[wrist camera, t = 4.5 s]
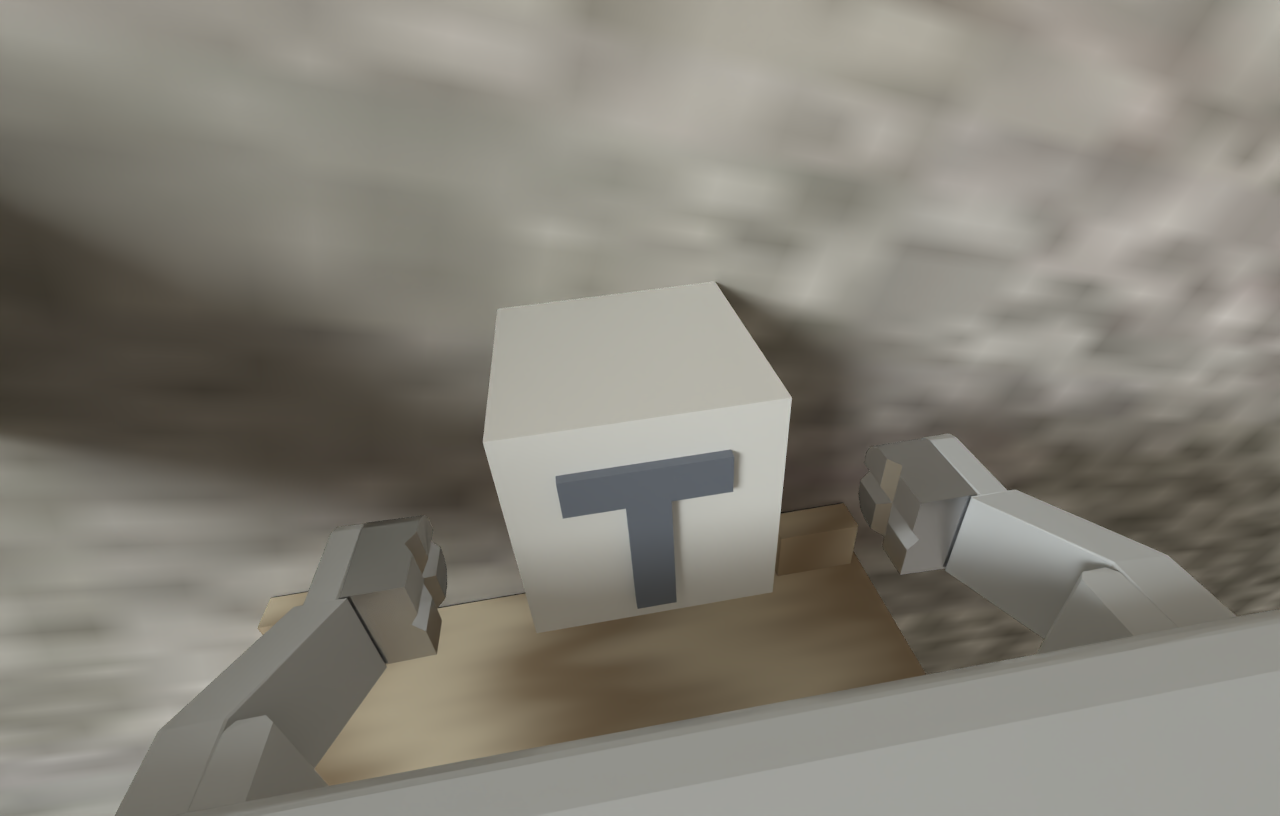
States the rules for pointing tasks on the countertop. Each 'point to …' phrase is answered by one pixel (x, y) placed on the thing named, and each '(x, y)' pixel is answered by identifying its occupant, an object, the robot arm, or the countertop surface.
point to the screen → (625, 663)
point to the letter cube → (635, 453)
